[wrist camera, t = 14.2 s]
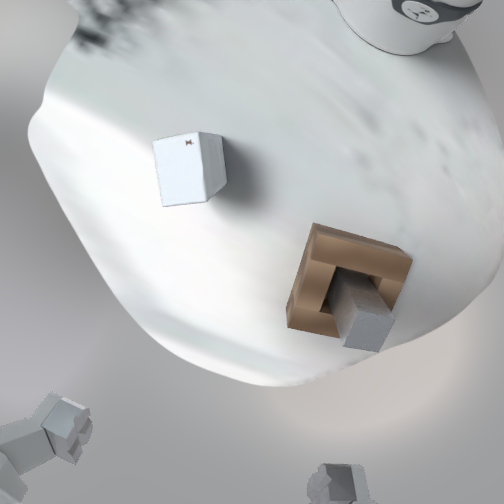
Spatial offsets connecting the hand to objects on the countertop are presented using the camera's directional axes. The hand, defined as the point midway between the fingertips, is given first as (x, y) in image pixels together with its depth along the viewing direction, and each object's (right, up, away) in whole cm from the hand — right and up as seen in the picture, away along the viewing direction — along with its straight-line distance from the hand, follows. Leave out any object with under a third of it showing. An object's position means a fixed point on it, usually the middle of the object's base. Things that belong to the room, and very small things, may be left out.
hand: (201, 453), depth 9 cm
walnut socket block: (+13, +3, +31) cm, 34 cm away
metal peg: (+13, +3, +30) cm, 33 cm away
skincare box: (-4, +17, +27) cm, 33 cm away
